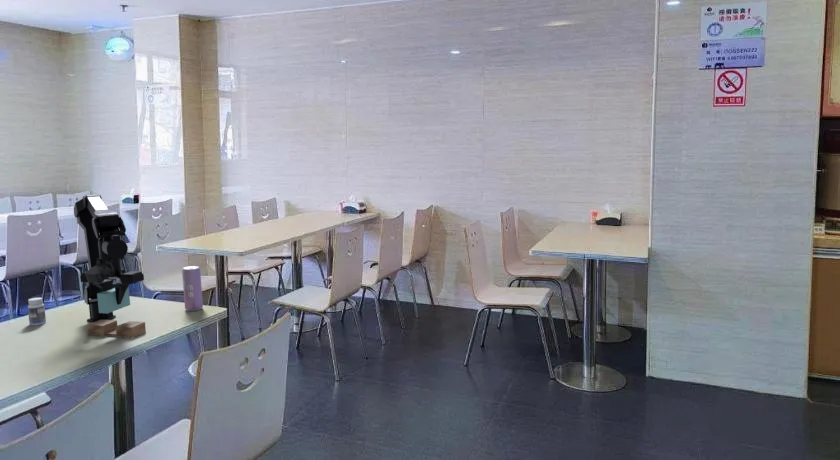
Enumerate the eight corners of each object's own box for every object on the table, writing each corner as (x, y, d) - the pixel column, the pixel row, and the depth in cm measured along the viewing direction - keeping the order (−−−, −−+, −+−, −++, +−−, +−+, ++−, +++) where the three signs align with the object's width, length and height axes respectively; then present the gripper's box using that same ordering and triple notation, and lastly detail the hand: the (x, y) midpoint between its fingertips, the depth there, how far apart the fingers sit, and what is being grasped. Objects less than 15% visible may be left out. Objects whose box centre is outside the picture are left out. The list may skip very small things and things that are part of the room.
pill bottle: (26, 324, 208) (23, 300, 207) (39, 321, 213) (36, 296, 212) (36, 326, 207) (33, 301, 206) (49, 322, 211) (46, 297, 210)
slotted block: (88, 334, 195) (87, 324, 195) (102, 329, 201) (101, 319, 201) (132, 337, 191) (131, 327, 191) (145, 331, 197) (145, 321, 197)
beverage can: (205, 307, 226) (202, 265, 224) (198, 311, 220) (195, 269, 218) (189, 307, 226) (186, 265, 224) (182, 311, 221) (178, 269, 219)
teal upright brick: (98, 313, 191) (97, 293, 190) (122, 304, 200) (120, 286, 200) (107, 313, 190) (105, 294, 189) (130, 304, 200) (128, 286, 199)
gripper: (63, 258, 187) (68, 309, 190) (117, 260, 183) (122, 312, 185) (91, 251, 198) (96, 300, 200) (143, 253, 193) (147, 302, 196)
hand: (114, 304), depth 195 cm, fingers closed on teal upright brick, 3 cm apart
